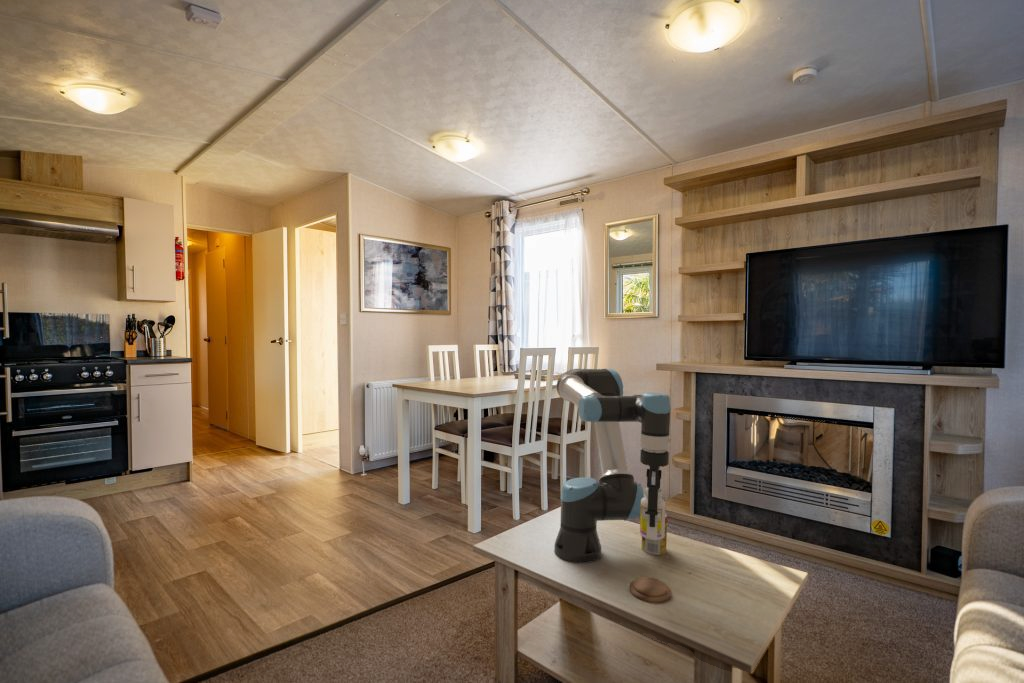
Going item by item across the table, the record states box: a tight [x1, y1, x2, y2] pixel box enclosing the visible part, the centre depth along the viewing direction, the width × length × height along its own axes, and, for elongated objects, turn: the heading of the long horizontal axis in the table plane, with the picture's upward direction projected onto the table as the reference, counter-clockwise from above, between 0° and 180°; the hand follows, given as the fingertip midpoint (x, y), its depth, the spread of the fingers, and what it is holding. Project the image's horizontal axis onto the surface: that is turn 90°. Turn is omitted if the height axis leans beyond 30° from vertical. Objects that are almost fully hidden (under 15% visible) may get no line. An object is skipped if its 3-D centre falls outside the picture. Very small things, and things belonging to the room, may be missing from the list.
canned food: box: [641, 512, 668, 556], centre depth 166 cm, size 8×8×12 cm
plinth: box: [629, 576, 672, 604], centre depth 138 cm, size 11×11×2 cm
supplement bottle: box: [639, 487, 667, 540], centre depth 138 cm, size 7×7×13 cm
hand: (652, 532), depth 138 cm, fingers closed on supplement bottle, 7 cm apart
